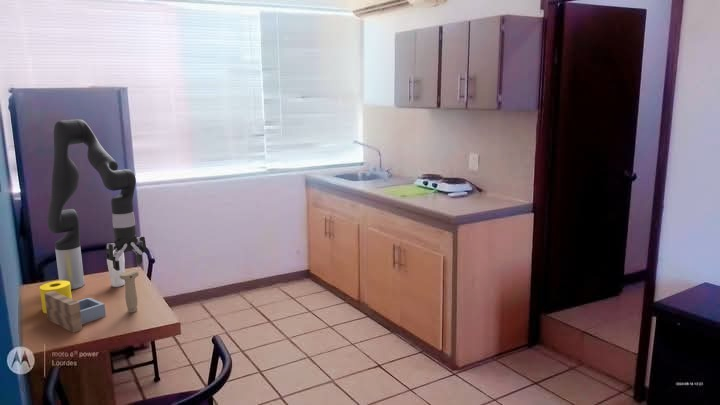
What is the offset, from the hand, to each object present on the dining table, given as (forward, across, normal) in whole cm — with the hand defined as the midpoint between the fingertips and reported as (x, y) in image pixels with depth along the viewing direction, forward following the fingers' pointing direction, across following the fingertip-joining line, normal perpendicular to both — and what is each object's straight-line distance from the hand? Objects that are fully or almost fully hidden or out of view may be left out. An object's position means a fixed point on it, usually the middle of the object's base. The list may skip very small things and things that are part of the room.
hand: (128, 267), depth 193 cm
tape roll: (+18, +15, -26) cm, 35 cm away
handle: (+18, 0, 0) cm, 18 cm away
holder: (+18, +14, -10) cm, 24 cm away
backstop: (+17, +20, -9) cm, 28 cm away
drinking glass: (+17, -12, -31) cm, 38 cm away
